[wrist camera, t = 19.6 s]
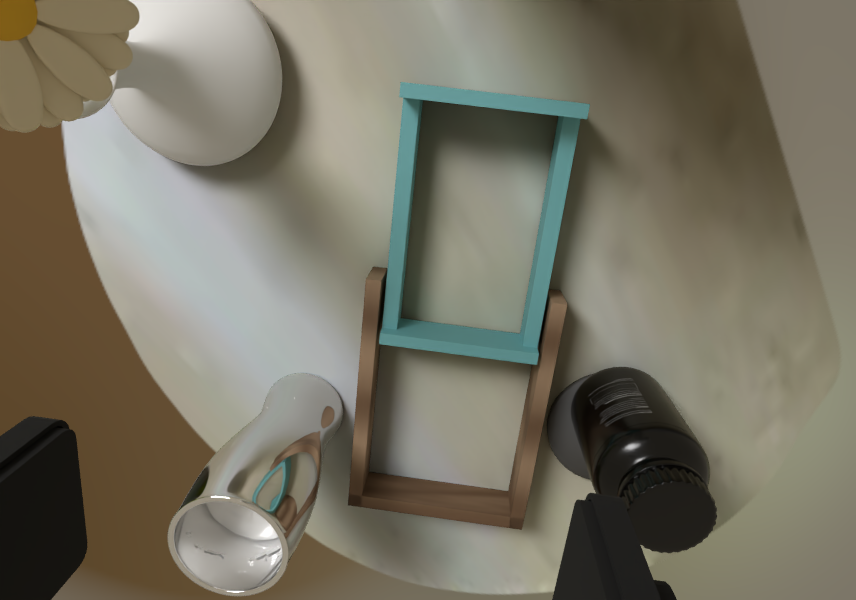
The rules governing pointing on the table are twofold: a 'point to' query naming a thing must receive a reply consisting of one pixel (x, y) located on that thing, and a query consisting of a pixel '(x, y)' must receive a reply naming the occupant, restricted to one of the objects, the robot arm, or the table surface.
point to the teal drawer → (526, 342)
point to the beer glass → (257, 491)
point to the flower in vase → (144, 71)
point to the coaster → (566, 431)
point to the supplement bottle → (644, 457)
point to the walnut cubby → (441, 495)
